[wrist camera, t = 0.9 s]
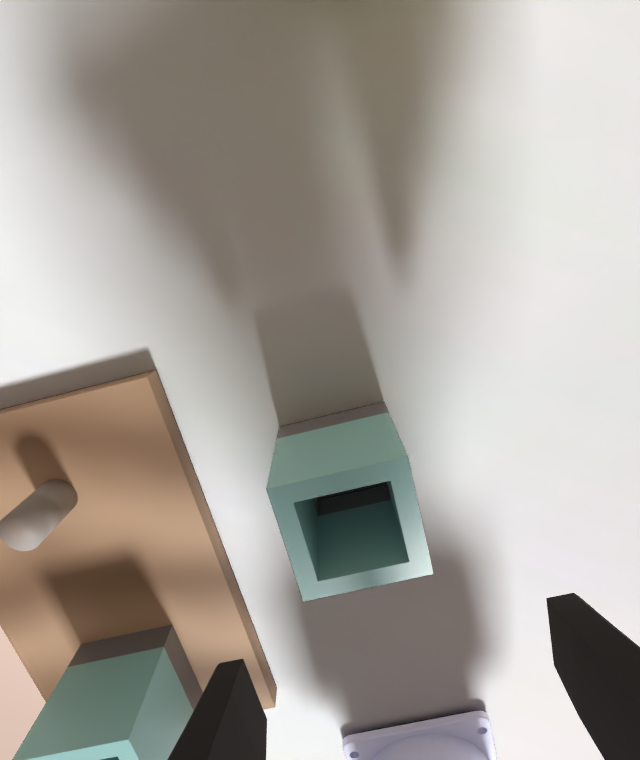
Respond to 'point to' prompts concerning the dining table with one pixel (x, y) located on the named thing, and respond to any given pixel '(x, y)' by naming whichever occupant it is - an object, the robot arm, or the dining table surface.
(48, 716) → the seated sleeve
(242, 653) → the pin board
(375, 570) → the sleeve
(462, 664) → the dining table surface
